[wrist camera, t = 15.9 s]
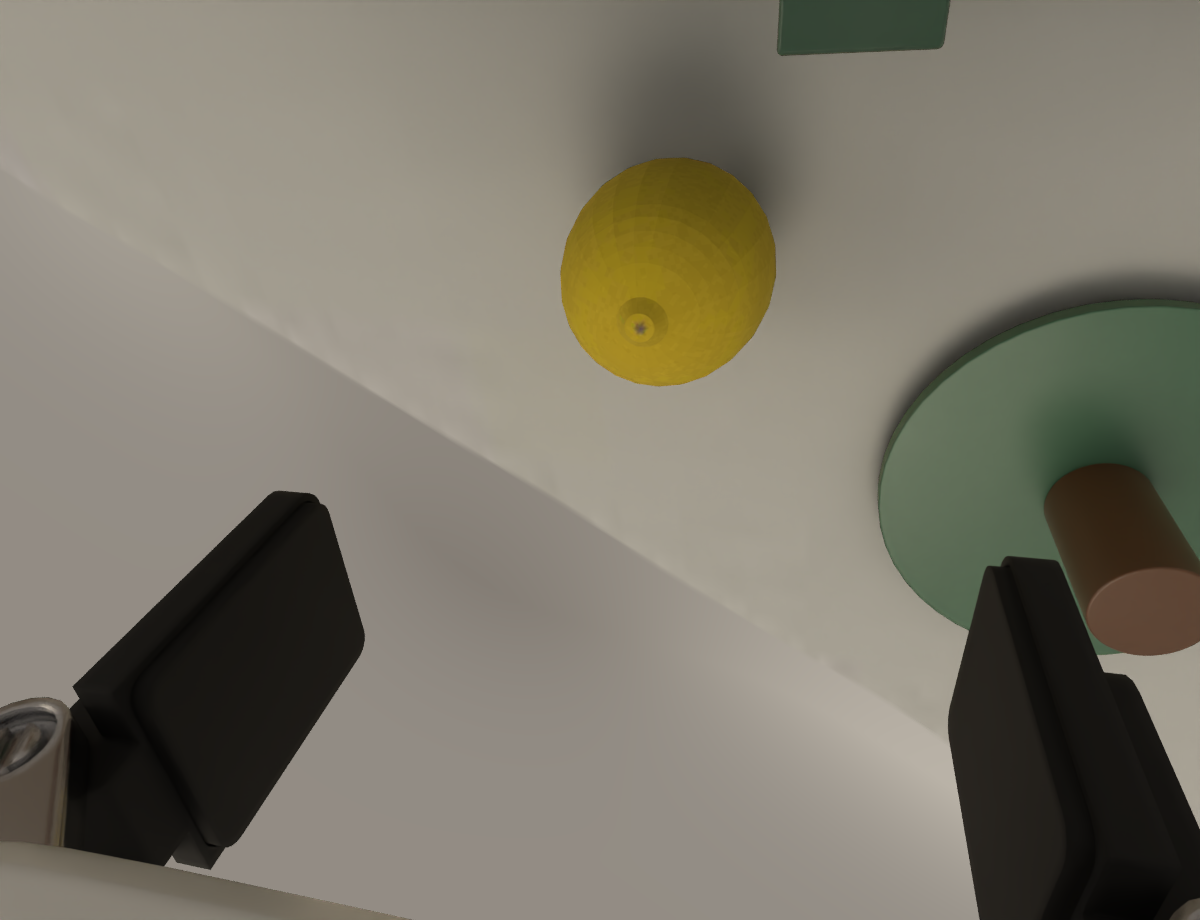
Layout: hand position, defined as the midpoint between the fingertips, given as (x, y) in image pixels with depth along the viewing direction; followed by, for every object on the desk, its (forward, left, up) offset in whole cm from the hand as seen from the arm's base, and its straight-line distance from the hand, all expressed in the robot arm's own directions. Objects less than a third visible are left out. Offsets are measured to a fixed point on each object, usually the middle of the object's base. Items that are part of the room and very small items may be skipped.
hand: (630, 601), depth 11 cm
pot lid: (-11, +7, -15) cm, 20 cm away
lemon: (+1, -1, -16) cm, 16 cm away
